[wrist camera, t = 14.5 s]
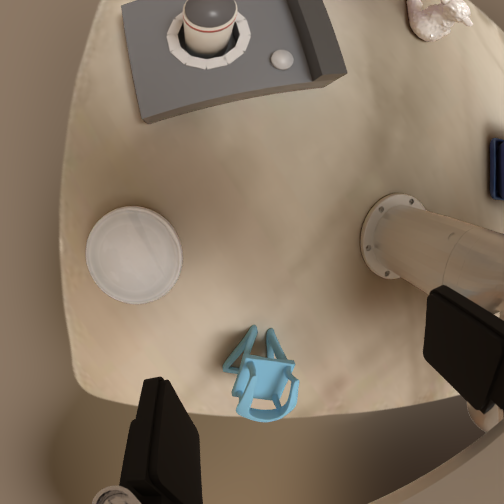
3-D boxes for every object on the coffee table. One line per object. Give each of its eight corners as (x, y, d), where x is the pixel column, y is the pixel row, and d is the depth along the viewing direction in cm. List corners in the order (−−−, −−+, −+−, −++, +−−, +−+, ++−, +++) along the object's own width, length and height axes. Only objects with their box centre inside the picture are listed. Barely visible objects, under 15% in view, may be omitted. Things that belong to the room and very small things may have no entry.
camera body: (291, -10, 28) (306, -36, 21) (323, 87, 33) (347, 73, 26) (128, 18, 26) (115, -6, 20) (148, 124, 31) (135, 114, 25)
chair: (288, 330, 42) (315, 382, 30) (270, 375, 43) (289, 430, 32) (236, 321, 40) (248, 376, 29) (221, 368, 42) (229, 427, 30)
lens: (224, 25, 28) (233, -14, 19) (231, 59, 29) (242, 24, 21) (183, 32, 27) (179, -8, 18) (188, 65, 29) (185, 31, 20)
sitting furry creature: (446, 32, 32) (492, 15, 20) (435, 59, 33) (486, 44, 22) (407, -5, 29) (449, -30, 18) (392, 20, 31) (439, -7, 19)
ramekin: (202, 229, 36) (201, 240, 31) (160, 302, 38) (154, 321, 33) (124, 184, 33) (110, 187, 28) (87, 260, 35) (72, 274, 30)
